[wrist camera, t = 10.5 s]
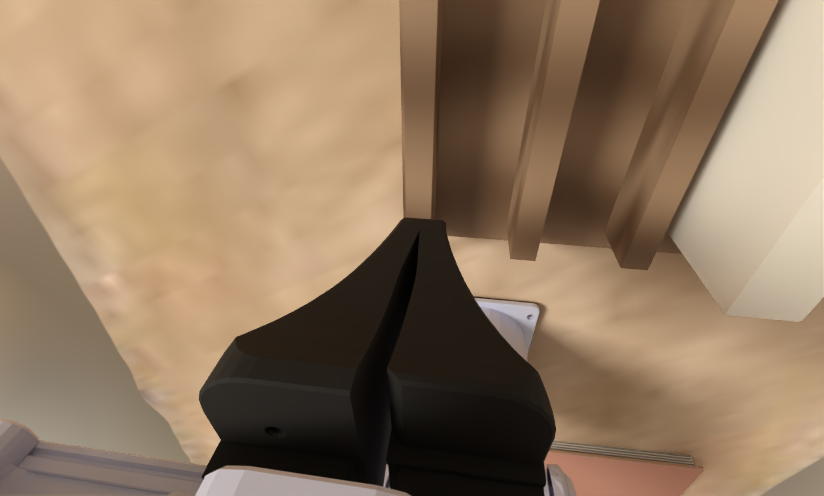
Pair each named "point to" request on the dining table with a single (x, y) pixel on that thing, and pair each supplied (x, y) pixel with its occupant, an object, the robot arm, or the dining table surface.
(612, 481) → the notebook
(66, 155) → the dining table surface
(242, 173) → the dining table surface
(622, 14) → the rack
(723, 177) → the block
